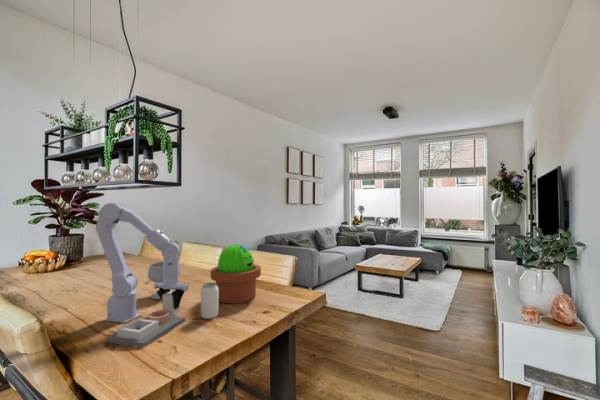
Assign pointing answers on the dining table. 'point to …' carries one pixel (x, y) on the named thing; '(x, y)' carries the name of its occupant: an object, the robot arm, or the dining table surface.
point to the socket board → (146, 329)
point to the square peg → (169, 304)
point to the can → (209, 301)
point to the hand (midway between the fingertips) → (171, 307)
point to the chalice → (157, 276)
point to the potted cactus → (236, 275)
